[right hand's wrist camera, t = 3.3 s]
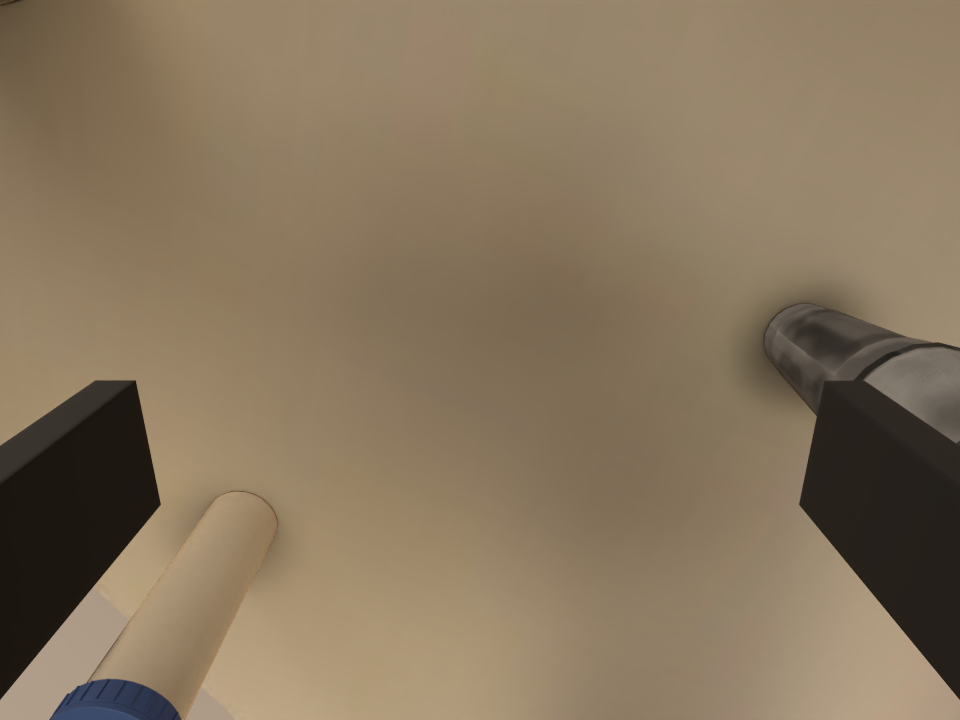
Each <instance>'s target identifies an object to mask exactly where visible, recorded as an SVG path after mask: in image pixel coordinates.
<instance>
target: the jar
mask: <svg viewBox="0 0 960 720" xmlns="http://www.w3.org/2000/svg"><path fill="white" fill-rule="evenodd" d="M276 531H277V519H276V516H275V513H274V511H273V510H272V508H271V507H270V506H269V505H268V504H267V503H266V502H265V501H264V500H263V499H261V498H260V497H258V496H256V495H253V494H251V493H247V492H229V493H226V494H223V495H221V496H219V497H218V498H216V499H215V500H214V501H213V502H212V503H211V504H210V506H209V507H208V509H207V510H206V512H205V513H204V515H203V516H202V517H201V519H200V520H199V522H198V523H197V525H196V526H195V528H194V529H193V530H192V532H191V533H190V535H189V536H188V538H187V539H186V540H185V542H184V543H183V545H182V546H181V548H180V549H179V551H178V552H177V553H176V555H175V556H174V558H173V559H172V561H171V562H170V563H169V565H168V566H167V568H166V569H165V571H164V572H163V574H162V575H161V576H160V578H159V579H158V581H157V582H156V584H155V585H154V586H153V588H152V589H151V591H150V592H149V594H148V595H147V597H146V598H145V599H144V601H143V602H142V604H141V605H140V607H139V608H138V610H137V611H136V612H135V614H134V615H133V617H132V618H131V620H130V621H129V622H128V624H127V625H126V627H125V628H124V630H123V631H122V633H121V634H120V635H119V637H118V638H117V640H116V641H115V643H114V644H113V645H112V647H111V648H110V650H109V651H108V653H107V654H106V656H105V657H104V659H103V660H102V661H101V663H100V664H99V666H98V667H97V669H96V670H95V671H94V673H93V674H92V676H91V677H90V679H89V680H88V681H87V683H88V682H91V681H95V680H101V679H121V680H127V681H132V682H136V683H139V684H142V685H144V686H147V687H149V688H151V689H153V690H154V691H156V692H158V693H159V694H161V695H162V696H164V697H165V698H166V699H167V700H168V701H169V702H170V703H171V704H172V705H173V706H174V707H175V709H176V710H177V712H178V713H179V715H180V717H181V720H185V718H186V716H187V714H188V712H189V710H190V708H191V706H192V704H193V702H194V700H195V698H196V696H197V694H198V692H199V690H200V688H201V686H202V683H203V681H204V679H205V677H206V675H207V673H208V671H209V669H210V667H211V665H212V663H213V661H214V659H215V657H216V655H217V653H218V651H219V649H220V647H221V645H222V643H223V641H224V639H225V636H226V634H227V632H228V630H229V628H230V626H231V624H232V622H233V620H234V618H235V616H236V614H237V612H238V610H239V608H240V606H241V604H242V602H243V600H244V598H245V596H246V594H247V592H248V590H249V587H250V585H251V583H252V581H253V579H254V577H255V575H256V573H257V571H258V569H259V567H260V565H261V563H262V561H263V559H264V557H265V555H266V553H267V551H268V549H269V547H270V545H271V543H272V541H273V538H274V536H275V534H276Z"/></svg>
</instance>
